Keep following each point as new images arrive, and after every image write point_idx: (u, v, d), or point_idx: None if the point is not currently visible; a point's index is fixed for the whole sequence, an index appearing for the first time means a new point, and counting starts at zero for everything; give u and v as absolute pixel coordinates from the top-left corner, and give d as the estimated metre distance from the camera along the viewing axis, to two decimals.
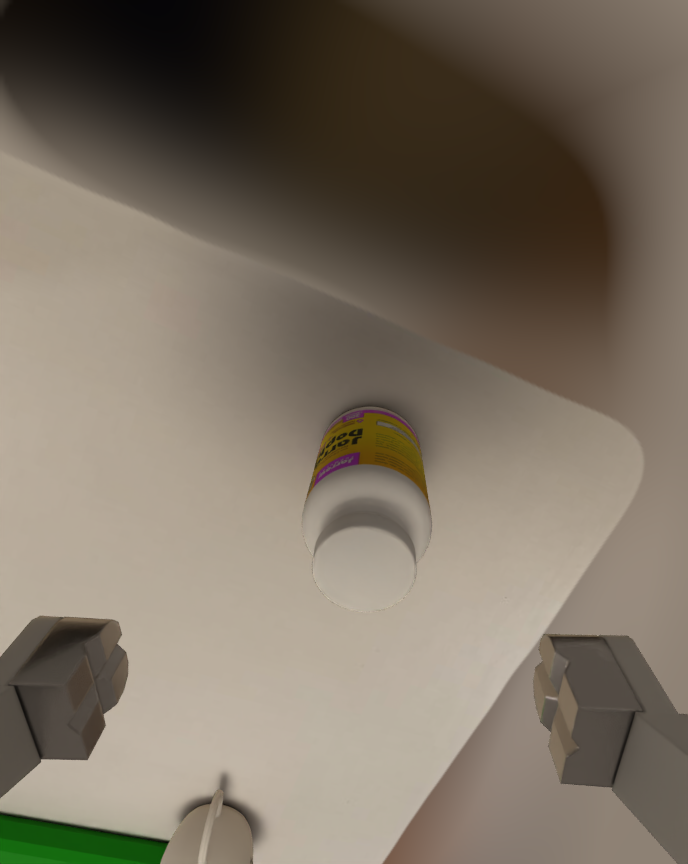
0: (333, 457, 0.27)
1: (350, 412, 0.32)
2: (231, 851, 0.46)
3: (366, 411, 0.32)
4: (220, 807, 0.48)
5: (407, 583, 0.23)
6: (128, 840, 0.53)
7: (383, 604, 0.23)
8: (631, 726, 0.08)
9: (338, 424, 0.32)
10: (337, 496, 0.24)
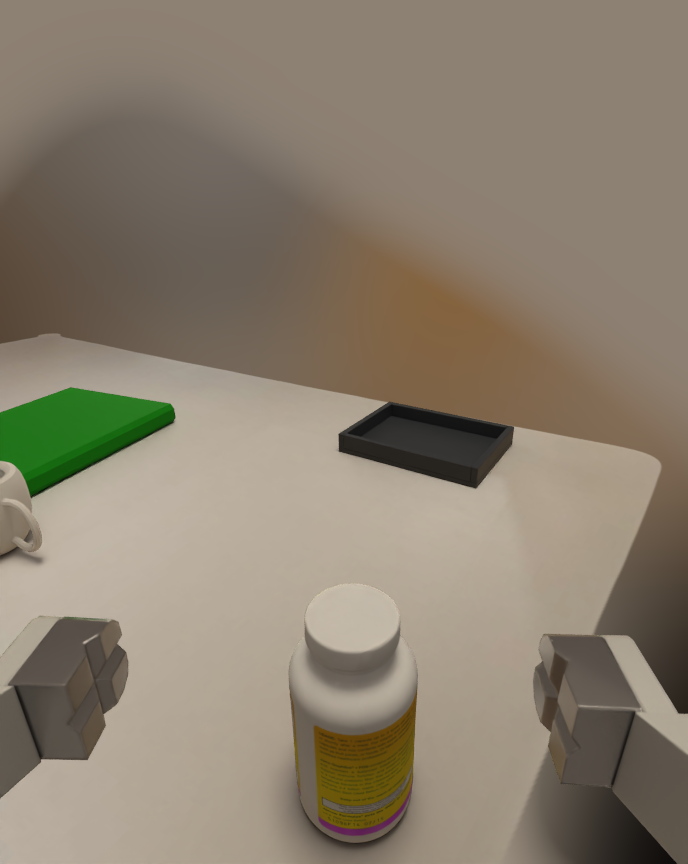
0: None
1: None
2: None
3: (412, 777, 0.29)
4: (19, 544, 0.50)
5: (331, 642, 0.23)
6: (38, 489, 0.61)
7: (311, 621, 0.25)
8: (631, 726, 0.08)
9: None
10: (401, 642, 0.27)
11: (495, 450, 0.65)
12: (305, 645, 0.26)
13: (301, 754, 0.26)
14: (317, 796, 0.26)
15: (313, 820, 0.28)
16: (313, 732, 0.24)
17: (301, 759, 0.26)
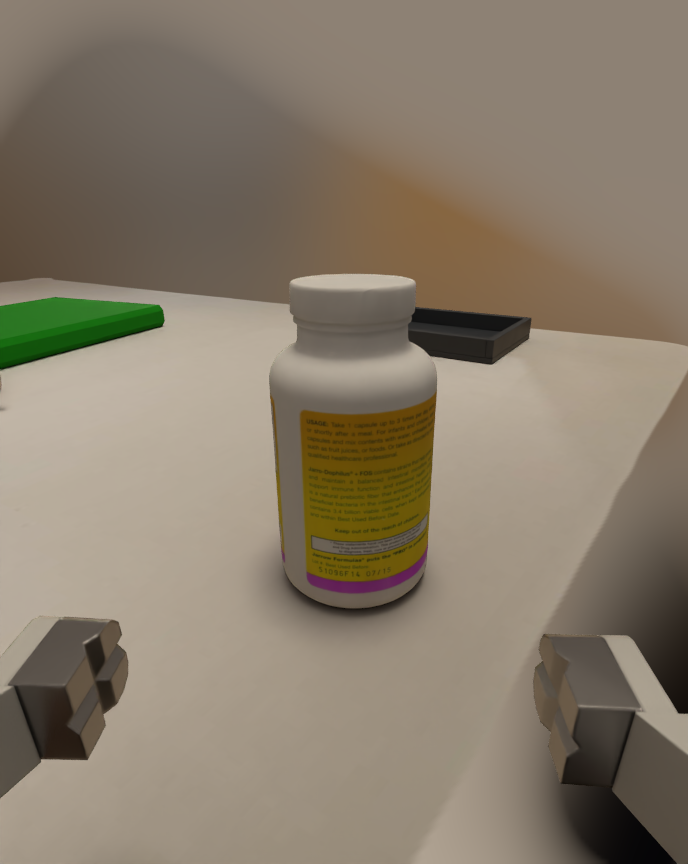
0: None
1: None
2: None
3: (427, 545, 0.23)
4: None
5: (323, 286, 0.17)
6: (7, 362, 0.56)
7: (298, 281, 0.19)
8: (631, 726, 0.08)
9: None
10: (415, 344, 0.21)
11: (512, 331, 0.59)
12: (291, 344, 0.20)
13: (285, 482, 0.20)
14: (304, 538, 0.20)
15: (300, 584, 0.21)
16: (299, 426, 0.18)
17: (285, 491, 0.20)
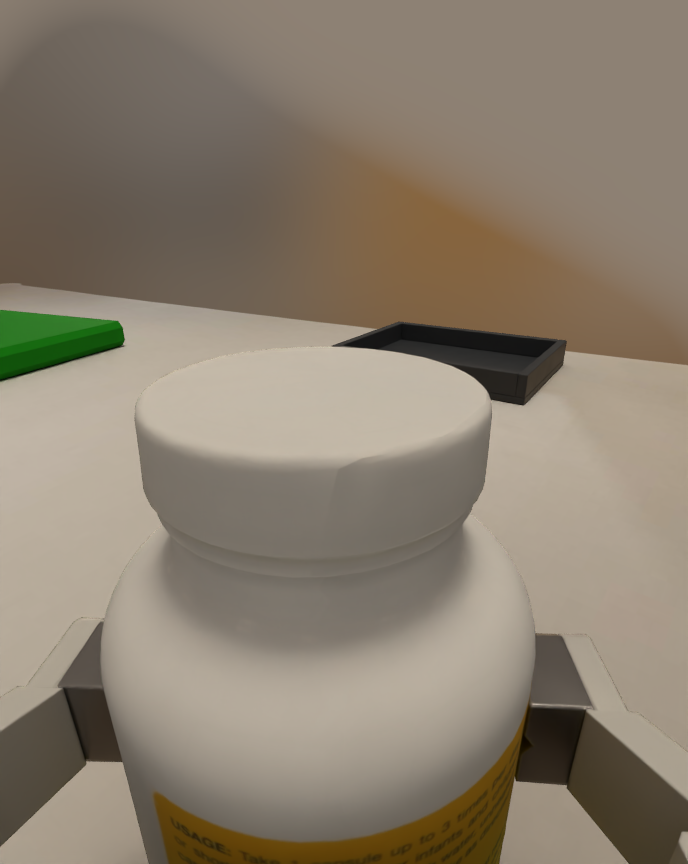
0: None
1: None
2: None
3: None
4: None
5: (211, 435, 0.05)
6: None
7: (160, 395, 0.07)
8: (582, 724, 0.08)
9: None
10: (472, 519, 0.09)
11: (547, 361, 0.47)
12: None
13: None
14: None
15: None
16: (155, 816, 0.06)
17: None
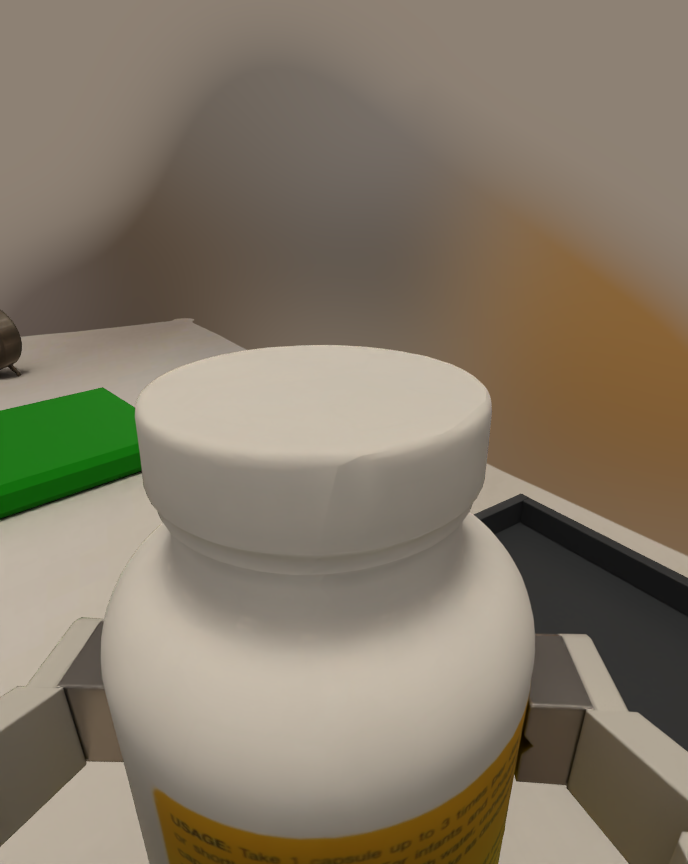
0: None
1: None
2: None
3: None
4: None
5: (211, 432, 0.05)
6: None
7: (161, 393, 0.07)
8: (582, 724, 0.08)
9: None
10: (472, 517, 0.09)
11: None
12: None
13: None
14: None
15: None
16: (156, 813, 0.06)
17: None
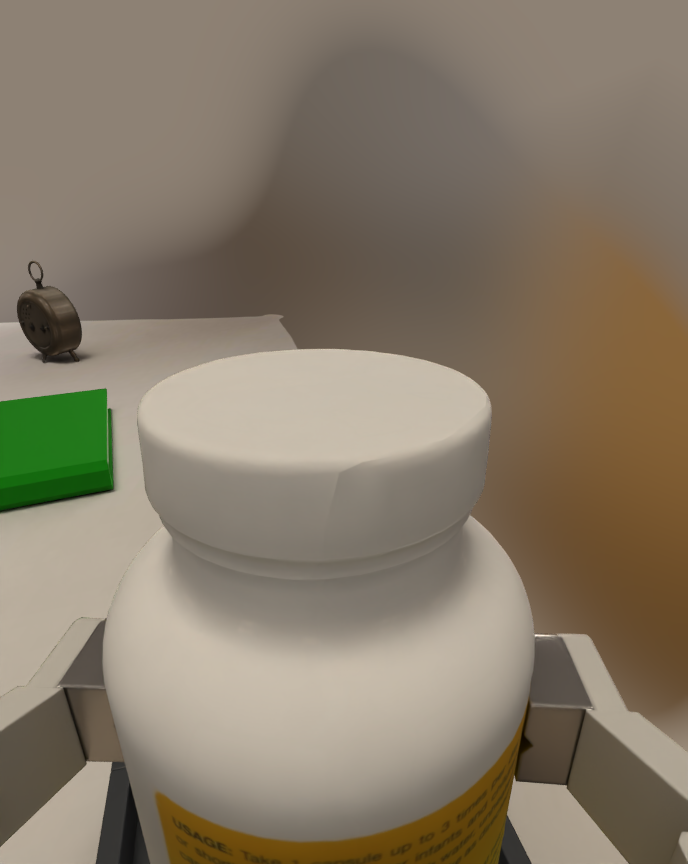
0: None
1: None
2: None
3: None
4: None
5: (213, 439, 0.05)
6: None
7: (163, 398, 0.07)
8: (582, 724, 0.08)
9: None
10: (472, 521, 0.09)
11: None
12: None
13: None
14: None
15: None
16: (157, 816, 0.06)
17: None
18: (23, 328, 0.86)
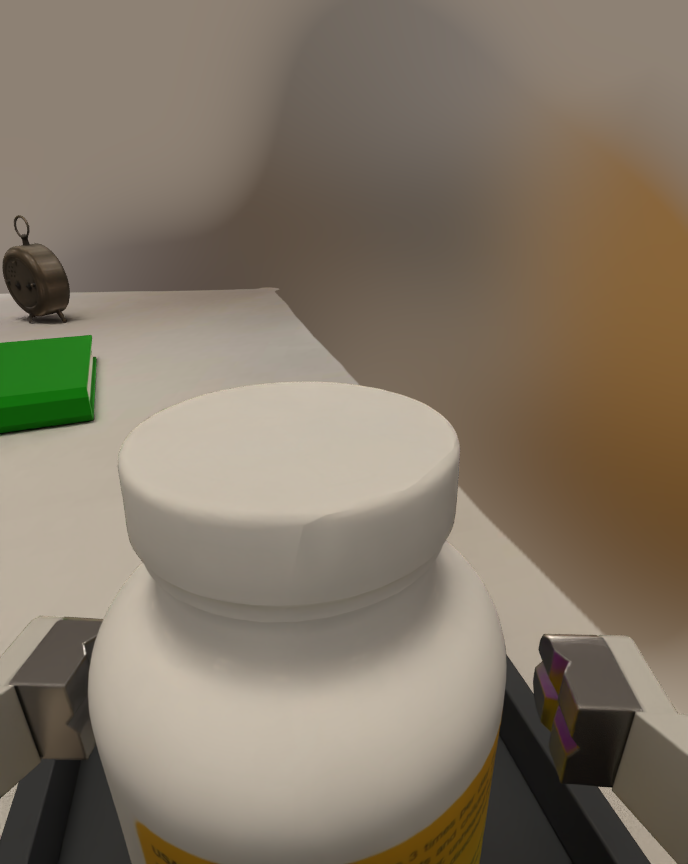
0: None
1: None
2: None
3: None
4: None
5: (186, 490, 0.06)
6: None
7: (144, 441, 0.07)
8: (631, 726, 0.08)
9: None
10: (450, 550, 0.09)
11: None
12: None
13: None
14: None
15: None
16: (138, 843, 0.07)
17: None
18: (9, 287, 0.83)
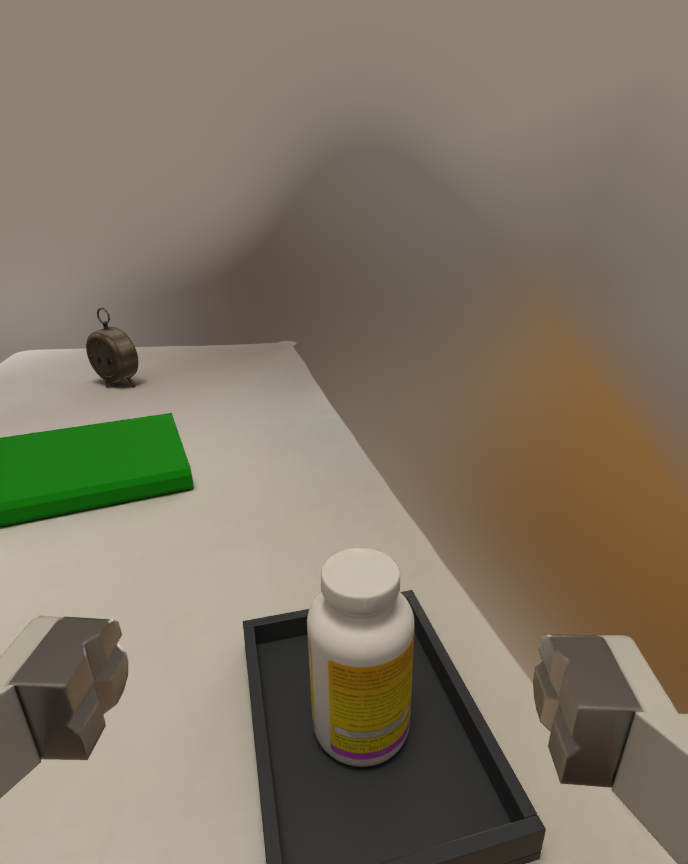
0: None
1: None
2: None
3: None
4: None
5: (343, 590, 0.29)
6: None
7: (327, 575, 0.30)
8: (631, 726, 0.08)
9: None
10: (401, 597, 0.32)
11: None
12: (321, 598, 0.32)
13: (317, 689, 0.31)
14: (329, 725, 0.32)
15: (326, 748, 0.33)
16: (327, 667, 0.30)
17: (317, 694, 0.32)
18: (90, 360, 1.07)
